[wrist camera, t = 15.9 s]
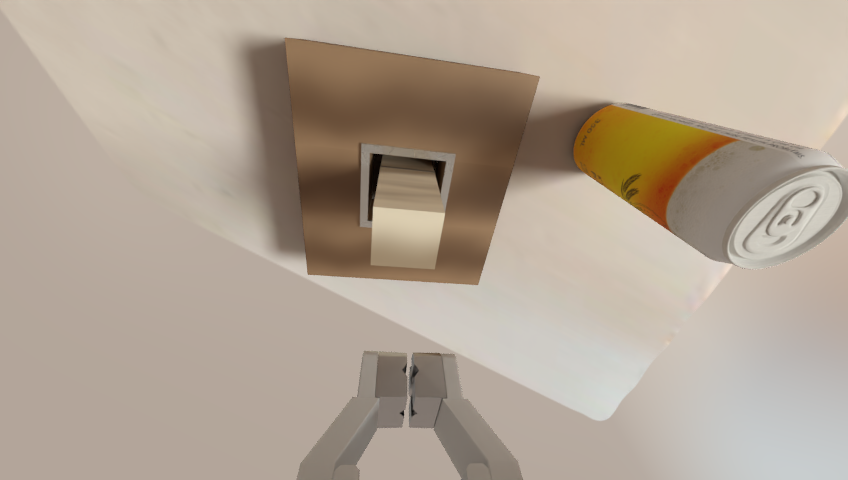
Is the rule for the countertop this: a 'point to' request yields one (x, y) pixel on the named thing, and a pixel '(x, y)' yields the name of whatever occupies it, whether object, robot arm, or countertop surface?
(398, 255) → the birch peg
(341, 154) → the walnut board
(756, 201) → the beer can
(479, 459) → the robot arm
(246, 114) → the countertop surface
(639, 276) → the countertop surface
